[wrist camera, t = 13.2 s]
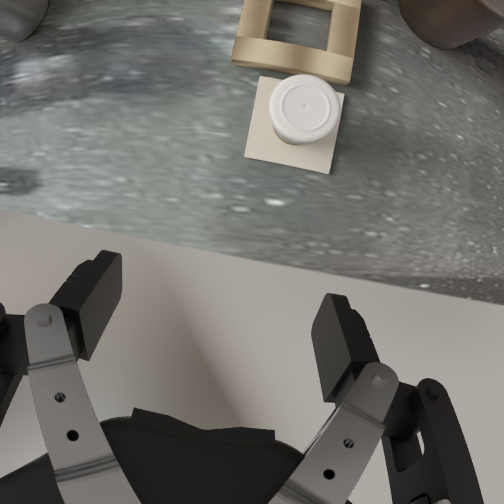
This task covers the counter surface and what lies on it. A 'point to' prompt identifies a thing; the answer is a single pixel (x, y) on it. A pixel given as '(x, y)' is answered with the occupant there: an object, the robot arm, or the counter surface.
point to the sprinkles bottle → (304, 109)
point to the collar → (295, 56)
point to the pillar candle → (452, 20)
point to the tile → (275, 150)
